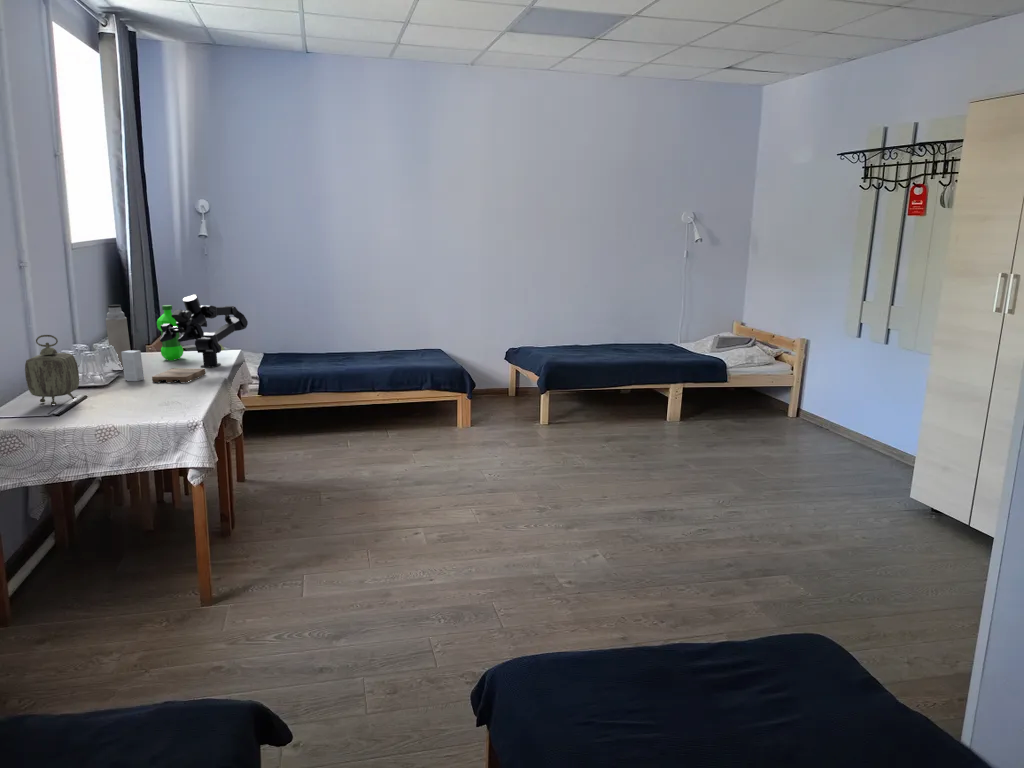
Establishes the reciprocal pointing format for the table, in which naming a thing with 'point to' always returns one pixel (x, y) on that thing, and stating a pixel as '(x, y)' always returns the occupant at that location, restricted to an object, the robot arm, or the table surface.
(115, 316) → the thermos bottle
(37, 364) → the tabletop clock
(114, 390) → the table surface
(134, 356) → the skincare box
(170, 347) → the plastic bottle
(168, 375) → the pallet dock
